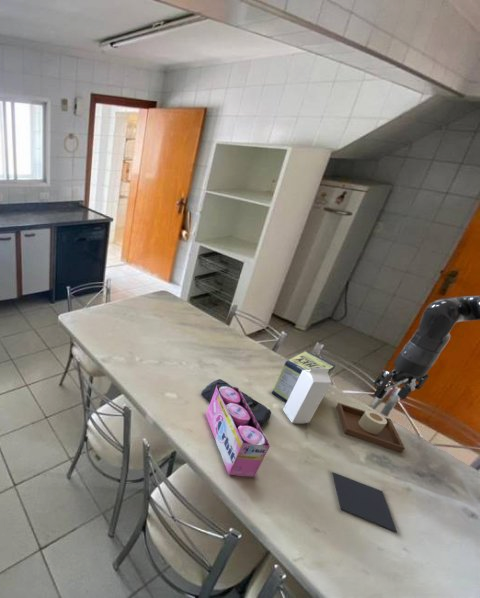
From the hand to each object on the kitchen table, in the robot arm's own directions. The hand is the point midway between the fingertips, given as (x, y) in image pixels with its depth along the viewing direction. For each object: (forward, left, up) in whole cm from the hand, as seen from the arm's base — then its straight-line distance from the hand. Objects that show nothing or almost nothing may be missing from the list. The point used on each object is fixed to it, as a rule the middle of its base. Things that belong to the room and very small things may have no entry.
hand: (389, 397), depth 107 cm
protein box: (+22, -6, -15) cm, 27 cm away
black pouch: (+43, +12, -15) cm, 47 cm away
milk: (+23, +7, -15) cm, 28 cm away
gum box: (+44, +31, -15) cm, 56 cm away
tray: (+1, +1, -15) cm, 15 cm away
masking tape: (0, 0, -14) cm, 14 cm away
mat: (+9, +33, -15) cm, 37 cm away
